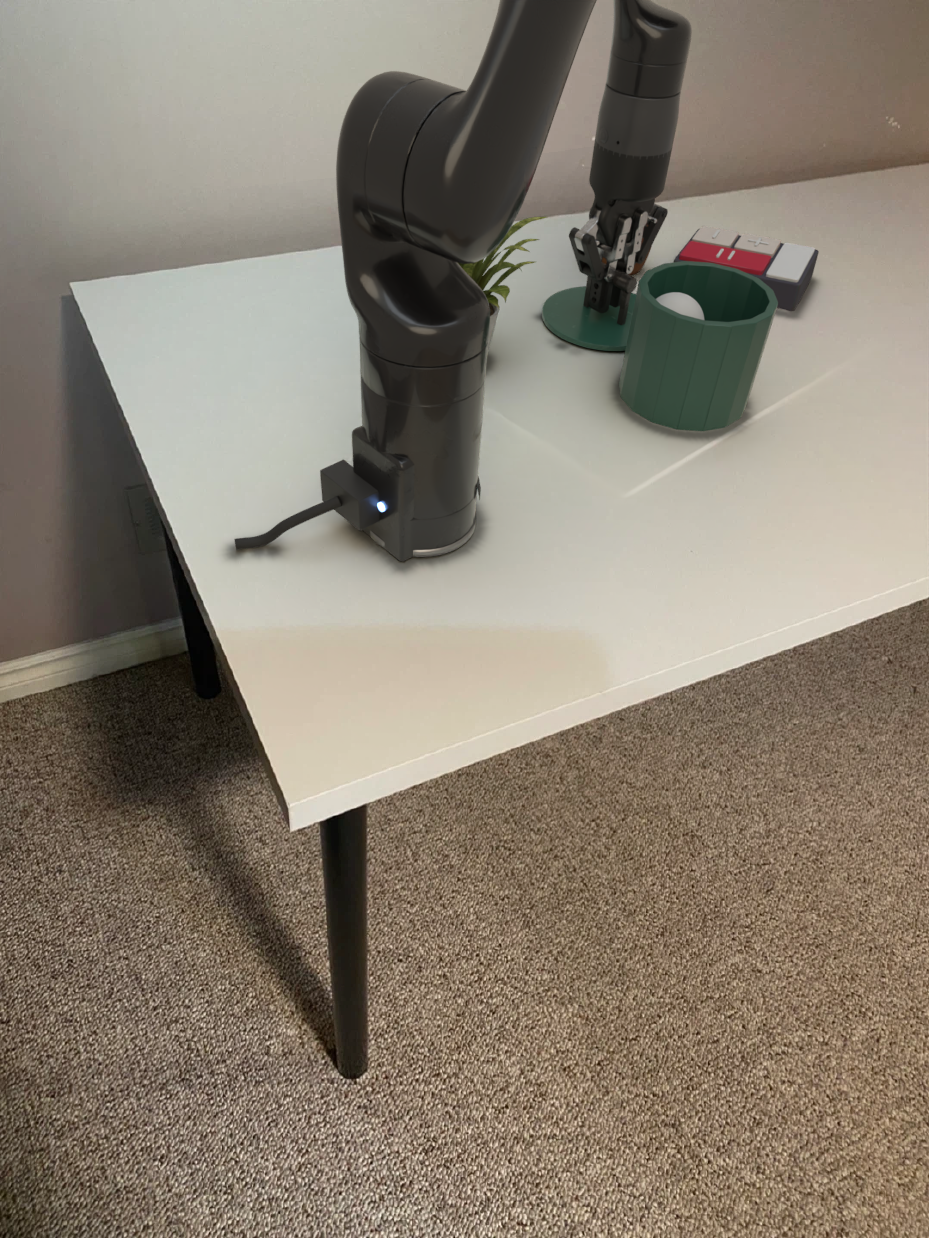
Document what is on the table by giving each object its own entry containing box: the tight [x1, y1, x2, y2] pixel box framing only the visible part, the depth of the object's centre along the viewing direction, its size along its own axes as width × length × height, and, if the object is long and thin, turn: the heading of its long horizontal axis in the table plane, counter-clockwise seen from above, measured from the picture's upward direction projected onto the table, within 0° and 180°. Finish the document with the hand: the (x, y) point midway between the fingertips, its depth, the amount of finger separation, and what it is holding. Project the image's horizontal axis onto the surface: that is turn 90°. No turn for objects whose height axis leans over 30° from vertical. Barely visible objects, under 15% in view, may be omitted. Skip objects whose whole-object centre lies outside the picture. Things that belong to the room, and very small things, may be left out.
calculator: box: [673, 225, 820, 312], centre depth 111 cm, size 11×4×15 cm
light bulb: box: [656, 292, 704, 320], centre depth 90 cm, size 6×6×10 cm
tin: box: [618, 261, 778, 432], centre depth 89 cm, size 13×13×12 cm
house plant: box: [459, 216, 547, 357], centre depth 90 cm, size 14×14×16 cm
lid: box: [541, 262, 638, 352], centre depth 101 cm, size 14×14×6 cm
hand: (605, 306), depth 101 cm, fingers closed on lid
